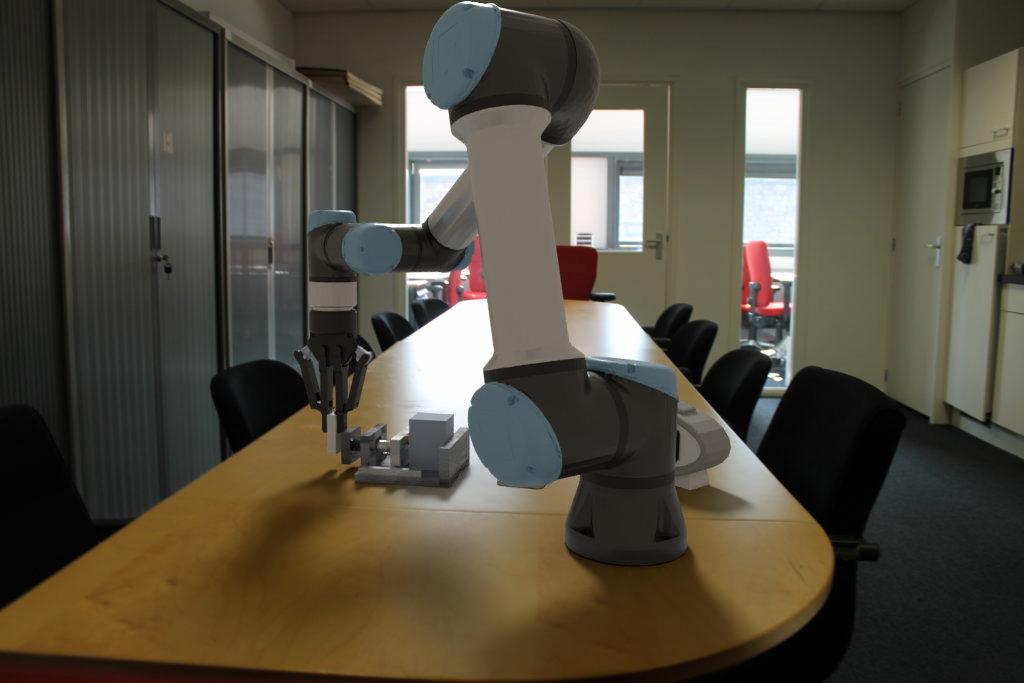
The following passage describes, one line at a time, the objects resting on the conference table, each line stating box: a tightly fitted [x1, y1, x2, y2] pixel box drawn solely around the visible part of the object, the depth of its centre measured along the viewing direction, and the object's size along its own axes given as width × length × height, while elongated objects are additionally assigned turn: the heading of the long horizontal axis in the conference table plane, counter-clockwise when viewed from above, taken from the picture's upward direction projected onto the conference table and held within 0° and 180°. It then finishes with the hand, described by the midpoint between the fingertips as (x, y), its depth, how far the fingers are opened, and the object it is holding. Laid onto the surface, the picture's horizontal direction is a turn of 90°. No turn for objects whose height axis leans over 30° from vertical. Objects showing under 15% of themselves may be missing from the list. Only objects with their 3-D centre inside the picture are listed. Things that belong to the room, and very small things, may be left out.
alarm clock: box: [675, 399, 732, 491], centre depth 133 cm, size 23×6×13 cm, turn 40°
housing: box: [407, 412, 455, 471], centre depth 133 cm, size 5×7×8 cm
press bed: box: [354, 423, 471, 488], centre depth 134 cm, size 14×15×7 cm
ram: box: [340, 425, 409, 468], centre depth 135 cm, size 10×10×5 cm
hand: (334, 452), depth 136 cm, fingers closed
